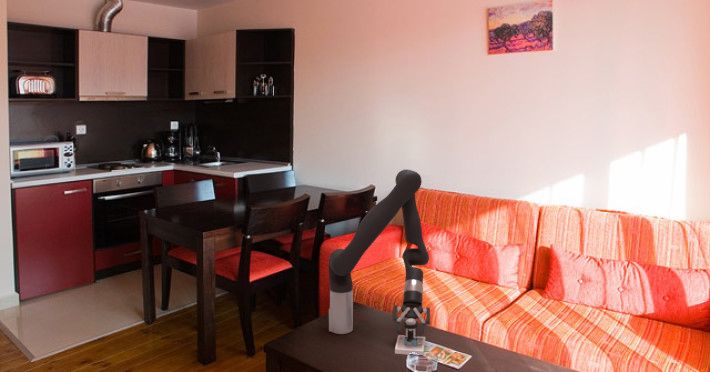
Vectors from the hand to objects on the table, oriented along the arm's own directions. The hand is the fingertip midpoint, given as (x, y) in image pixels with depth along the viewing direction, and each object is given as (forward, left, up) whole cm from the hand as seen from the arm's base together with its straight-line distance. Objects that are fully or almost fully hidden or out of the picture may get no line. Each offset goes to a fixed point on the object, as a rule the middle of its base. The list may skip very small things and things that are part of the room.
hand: (410, 333), depth 202 cm
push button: (+1, +2, -6) cm, 6 cm away
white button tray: (0, +1, -6) cm, 6 cm away
